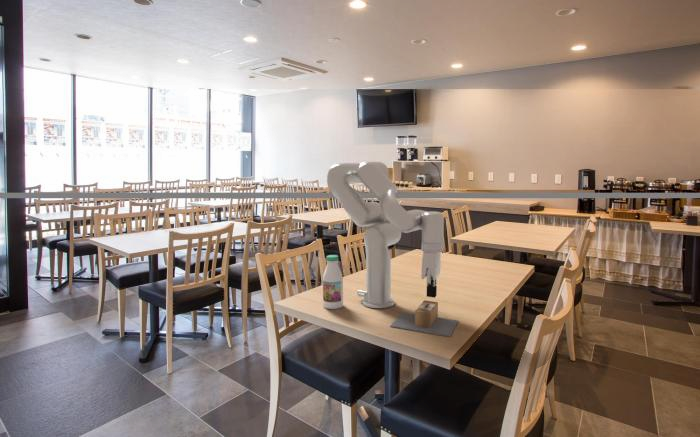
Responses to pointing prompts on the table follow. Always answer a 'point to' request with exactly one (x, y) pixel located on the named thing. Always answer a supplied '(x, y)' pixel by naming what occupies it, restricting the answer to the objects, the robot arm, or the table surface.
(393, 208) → the robot arm
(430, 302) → the cardboard box
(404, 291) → the table surface
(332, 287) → the milk bottle
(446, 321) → the charcoal mat
